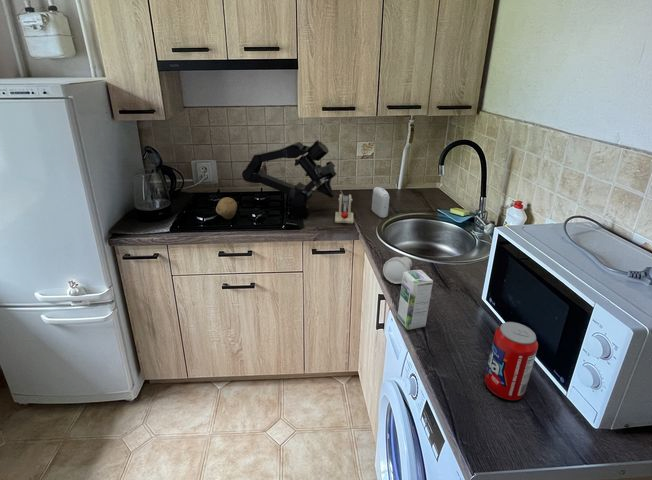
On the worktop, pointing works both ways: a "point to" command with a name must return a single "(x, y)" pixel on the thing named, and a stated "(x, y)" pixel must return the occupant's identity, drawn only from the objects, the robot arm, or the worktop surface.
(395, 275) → the spotlight
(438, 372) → the worktop surface
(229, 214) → the natural sponge
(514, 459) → the worktop surface
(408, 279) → the syrup box
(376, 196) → the photo printer
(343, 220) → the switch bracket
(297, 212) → the robot arm
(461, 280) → the worktop surface
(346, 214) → the switch lever
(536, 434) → the worktop surface
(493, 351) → the soda can
